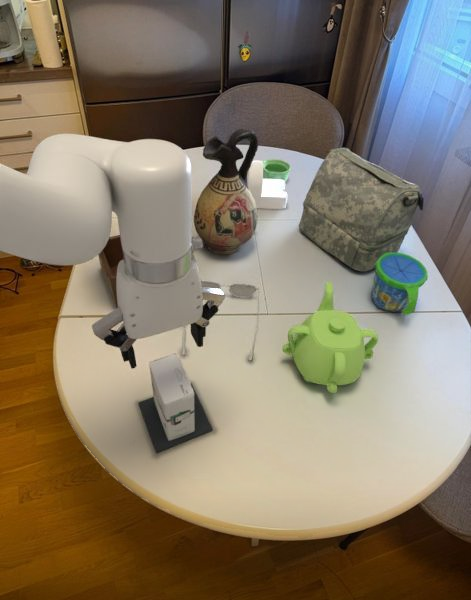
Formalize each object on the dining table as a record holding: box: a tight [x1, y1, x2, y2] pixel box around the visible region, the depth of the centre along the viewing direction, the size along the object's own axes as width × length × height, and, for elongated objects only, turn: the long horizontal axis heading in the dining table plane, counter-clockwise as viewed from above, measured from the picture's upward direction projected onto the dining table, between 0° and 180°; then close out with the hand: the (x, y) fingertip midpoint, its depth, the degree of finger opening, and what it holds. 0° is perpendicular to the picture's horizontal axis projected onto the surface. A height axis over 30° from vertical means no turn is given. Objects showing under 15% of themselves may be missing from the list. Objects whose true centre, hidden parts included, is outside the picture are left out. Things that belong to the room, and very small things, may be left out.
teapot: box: [282, 280, 379, 394], centre depth 78 cm, size 16×14×13 cm
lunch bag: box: [298, 147, 425, 272], centre depth 103 cm, size 26×18×22 cm
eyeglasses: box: [181, 279, 261, 362], centre depth 87 cm, size 15×18×4 cm
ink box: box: [148, 352, 195, 441], centre depth 68 cm, size 9×5×12 cm, turn 25°
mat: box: [138, 382, 214, 454], centre depth 72 cm, size 10×10×1 cm
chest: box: [97, 234, 124, 309], centre depth 93 cm, size 16×14×9 cm
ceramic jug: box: [193, 128, 259, 255], centre depth 97 cm, size 17×15×30 cm
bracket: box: [247, 159, 288, 210], centre depth 119 cm, size 19×10×11 cm, turn 91°
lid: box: [98, 251, 111, 278], centre depth 81 cm, size 16×14×1 cm
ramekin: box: [263, 158, 291, 183], centre depth 131 cm, size 9×9×4 cm
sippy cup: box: [371, 252, 429, 316], centre depth 92 cm, size 16×10×10 cm
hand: (164, 349), depth 59 cm, fingers open, 9 cm apart
